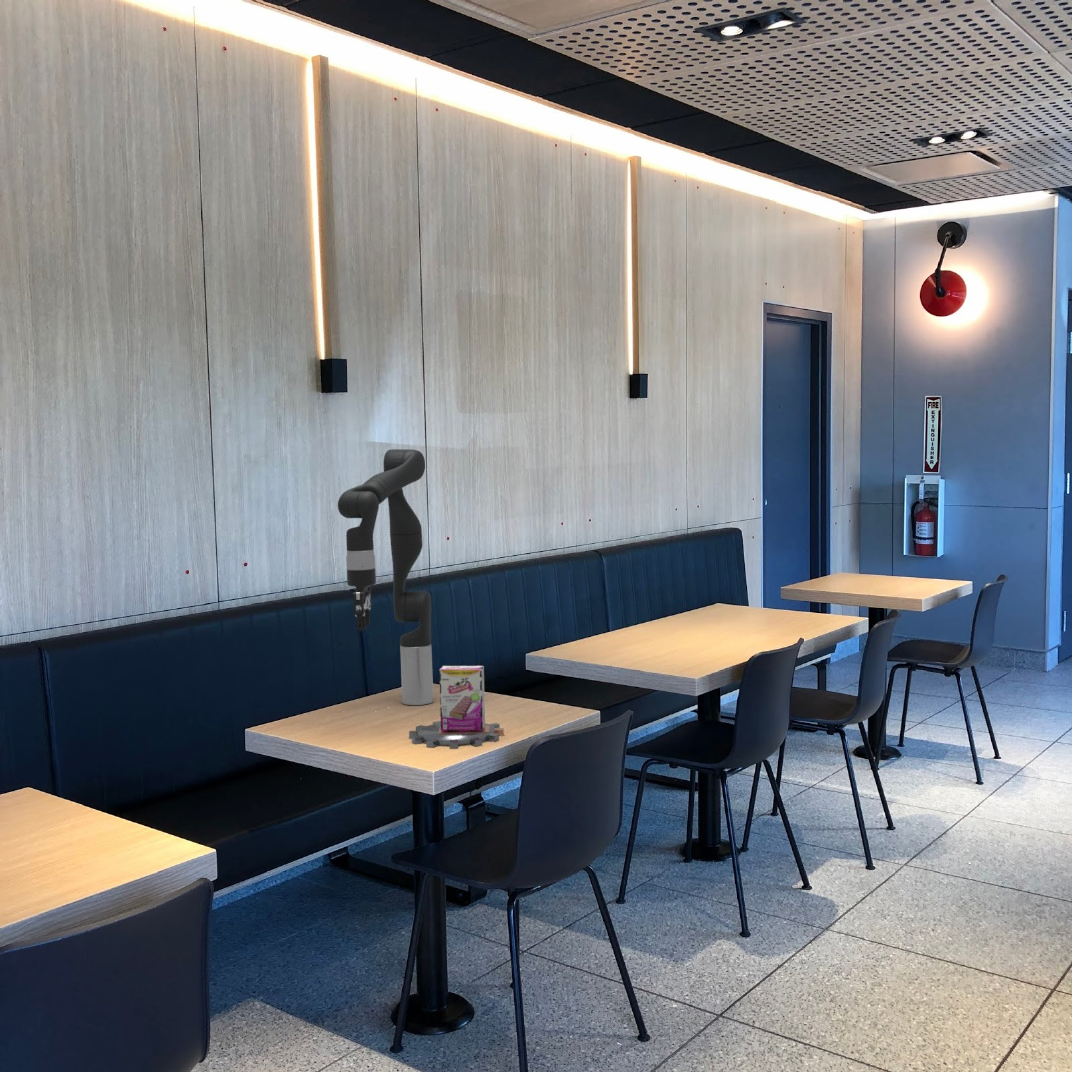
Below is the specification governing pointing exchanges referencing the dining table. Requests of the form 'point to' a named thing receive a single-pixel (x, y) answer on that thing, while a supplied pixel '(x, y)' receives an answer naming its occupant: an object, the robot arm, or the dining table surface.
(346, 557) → the robot arm
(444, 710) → the candy bar box
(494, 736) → the sprocket plate
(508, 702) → the dining table surface
